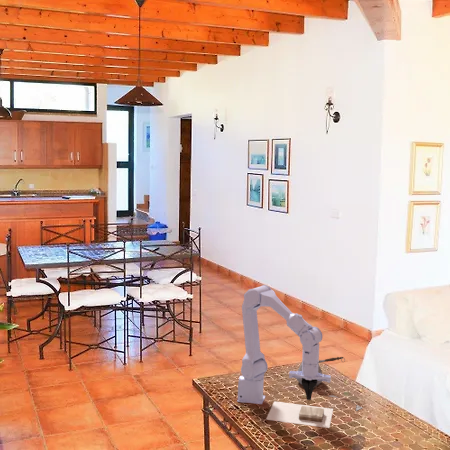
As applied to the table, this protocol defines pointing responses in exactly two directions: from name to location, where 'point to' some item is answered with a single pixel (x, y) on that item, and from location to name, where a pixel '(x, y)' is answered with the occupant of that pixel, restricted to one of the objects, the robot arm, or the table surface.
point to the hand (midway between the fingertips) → (308, 399)
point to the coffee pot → (318, 368)
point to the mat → (296, 414)
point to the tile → (311, 414)
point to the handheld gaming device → (356, 405)
